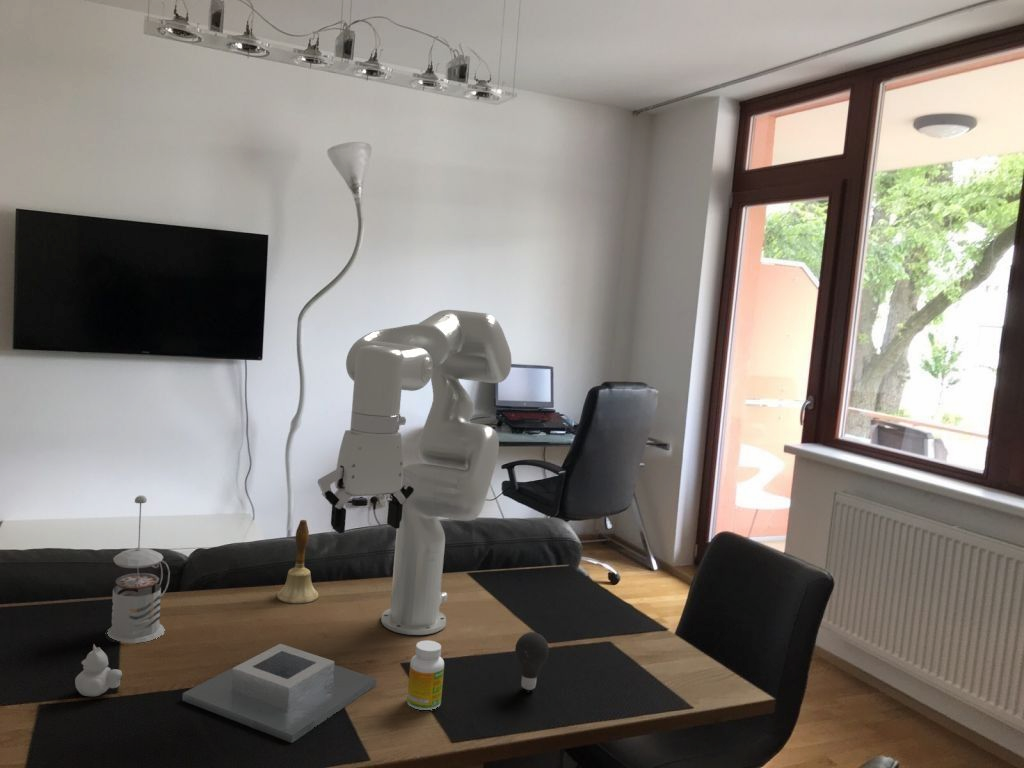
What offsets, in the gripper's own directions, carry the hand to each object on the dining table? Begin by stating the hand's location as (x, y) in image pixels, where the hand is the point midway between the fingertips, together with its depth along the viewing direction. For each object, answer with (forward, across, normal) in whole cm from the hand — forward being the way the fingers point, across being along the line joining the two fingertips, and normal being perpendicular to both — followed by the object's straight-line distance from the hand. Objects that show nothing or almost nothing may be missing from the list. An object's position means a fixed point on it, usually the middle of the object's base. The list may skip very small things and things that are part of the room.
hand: (366, 528), depth 136 cm
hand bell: (+26, -6, -39) cm, 47 cm away
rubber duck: (+27, +36, -13) cm, 47 cm away
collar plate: (+26, +11, -2) cm, 29 cm away
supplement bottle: (+26, -7, +10) cm, 29 cm away
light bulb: (+26, -26, +14) cm, 39 cm away
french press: (+26, +26, -34) cm, 50 cm away
